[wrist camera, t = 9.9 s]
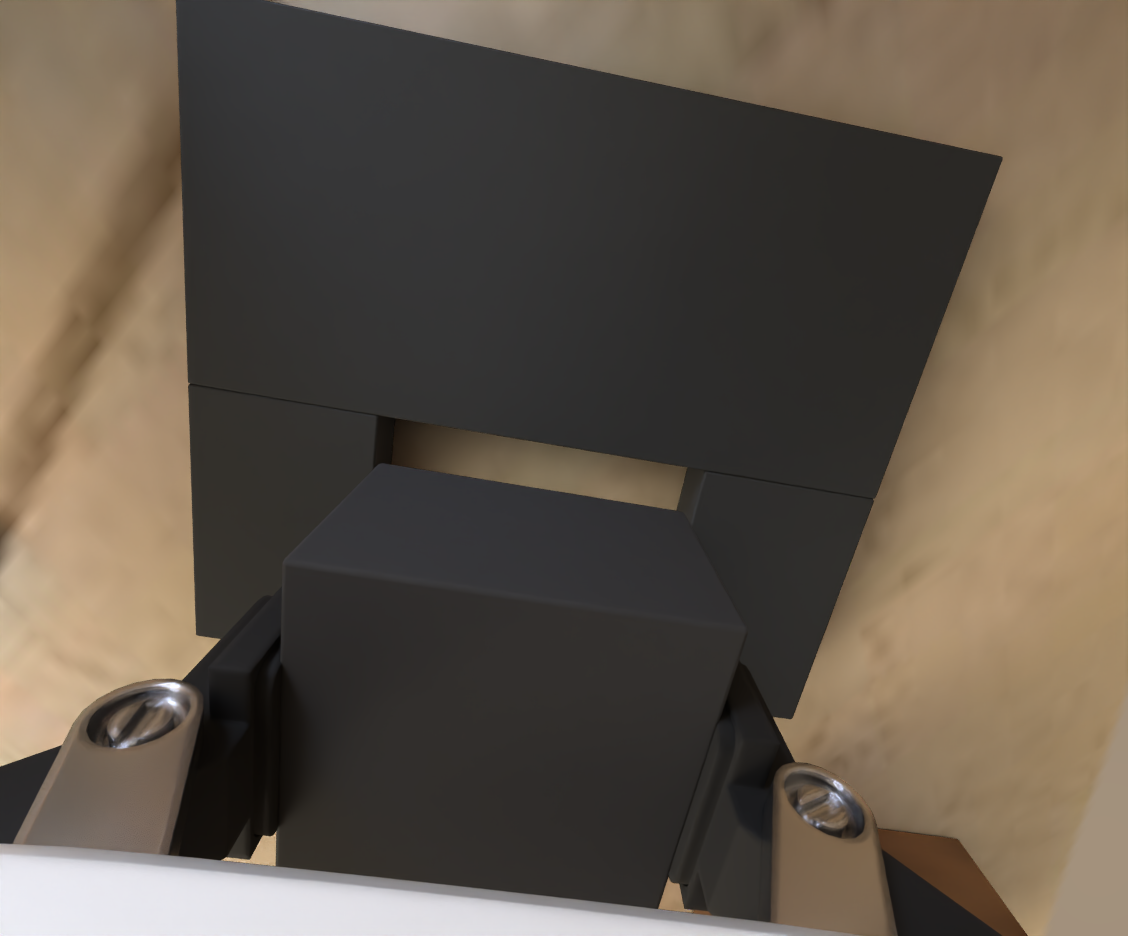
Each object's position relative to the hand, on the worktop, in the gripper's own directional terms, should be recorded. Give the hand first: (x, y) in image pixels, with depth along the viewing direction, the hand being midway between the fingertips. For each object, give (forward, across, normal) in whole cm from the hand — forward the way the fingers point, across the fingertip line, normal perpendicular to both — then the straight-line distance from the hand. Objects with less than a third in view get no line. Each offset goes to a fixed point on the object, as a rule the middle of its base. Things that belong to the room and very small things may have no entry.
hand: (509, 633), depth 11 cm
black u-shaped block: (+4, 0, -4) cm, 6 cm away
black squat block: (+1, 0, 0) cm, 1 cm away
